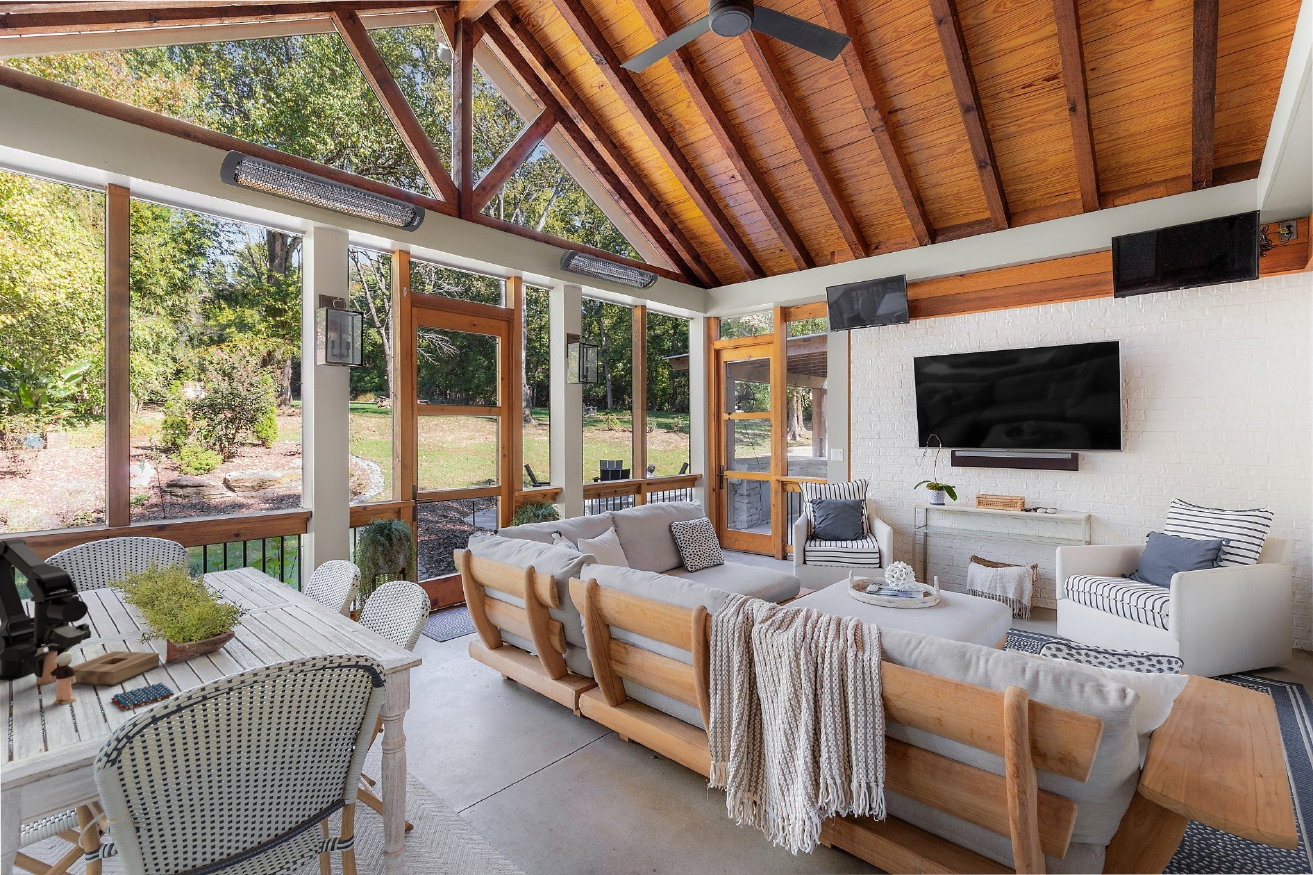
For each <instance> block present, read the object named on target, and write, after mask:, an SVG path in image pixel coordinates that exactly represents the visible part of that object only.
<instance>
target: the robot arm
mask: <svg viewBox="0 0 1313 875" xmlns="http://www.w3.org/2000/svg"><path fill="white" fill-rule="evenodd" d="M13 566H14V568H15V569H16V570H18V571H19V572H20V573H21V574H22V575H23V576H25V578H26V579H27V581H26V583H25V586H26V587H27V589H28V591H29V592H30V594H32V595H33V596H32V597H31V598H30V602H33V603H34V609H33V610H34V611H33V612H34V613H33V615H34V616H33V617H30V616H29V615H27V613H26V610H25V608H24V605H23V601H22V599H21V595H20V593H19V590H18V587H17V583H16V582H15V581H16V580H15V577H14V575H13V572H12V570H11V569H12V567H13ZM88 609H89V608H88V605H87V603H86V602H84V601H83V600H80V596H79V591H78V587H77V585H76V584H75V582H74V581H73V578H72V576H71V575H70V574H69V573H68V571H67V570H65V569H62V568H61V567H60V566H55V565H50V564H48V563H47V562H45V561H44V560H43V559H42V558H41V557H40V556H39V555H38V554H36V552H35V551H33V550H32V548H30V547H29V546H28V545H27V541H26V540H25V539H21V538H16V539H15V538H14V539H7V540H1V541H0V680H9V681H11V680H15V679H19V678H22V677H24V676H27V675H29V674H32V673H33V674H34V675H35V677H36V678H37V679H38V678H41V677H42V675H43V666H44V658H45V657H46V656H47V655H48V653H44V652H45V650H44V649H46V648H47V651H57V657H58V656H59V655H60V654H62V653H64V652H69V650H70V649H72V648H73V647H74V646H77V645H80V644H82V642H83V641H84V640H88V639H90V638H92V631H91V629H90V624H88V623H87V622H86V623H85V622H84V623H81V624H78V625H74V626H70V623H76V622H78V621H81V620H82V619H83V618H84V617H85V615H86V614H87V613H88ZM57 667H59V665H58V663H57Z"/></svg>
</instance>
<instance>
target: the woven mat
mask: <svg viewBox="0 0 1313 875" xmlns="http://www.w3.org/2000/svg"><path fill="white" fill-rule="evenodd" d="M173 691H174V690H171V688H169V687H167V685H165V684H163V683H162V682H159V683H155V684H154V683H153V684H152V685H149V686H143V687H138V688H136V689H131V690H128V691H123V692H120V693H116V694H114V695H113V697H112V698H110V700H112V701H111V702H112V703H114V704H115V705H117V706H118V708H119V709H121V710H122V711H124V712H127V711H128V710H133V709H134V708H136V709H138V708H139V706H140V707H144V706H145V704H146V705H150V704H151V703H152V704H153V703H156V702H161V701H162V700H163V701H166V698H168V699H170V698H169V697H173V696H174V695H175V693H174V692H173Z"/></svg>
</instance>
